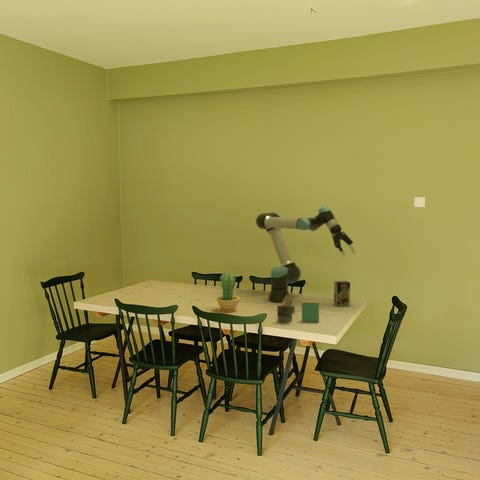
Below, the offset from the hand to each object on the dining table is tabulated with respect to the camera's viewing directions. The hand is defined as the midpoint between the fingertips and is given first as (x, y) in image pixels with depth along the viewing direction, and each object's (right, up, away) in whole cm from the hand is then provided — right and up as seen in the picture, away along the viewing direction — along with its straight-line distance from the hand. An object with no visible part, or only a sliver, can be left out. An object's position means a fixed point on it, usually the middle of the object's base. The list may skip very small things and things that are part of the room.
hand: (350, 254), depth 306 cm
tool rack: (-43, -38, -16) cm, 59 cm away
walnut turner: (-43, -34, -17) cm, 58 cm away
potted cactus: (-80, -37, 0) cm, 88 cm away
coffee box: (-4, -35, +9) cm, 36 cm away
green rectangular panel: (-30, -39, -28) cm, 57 cm away
